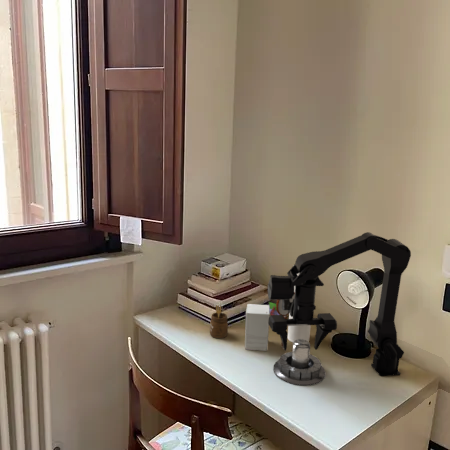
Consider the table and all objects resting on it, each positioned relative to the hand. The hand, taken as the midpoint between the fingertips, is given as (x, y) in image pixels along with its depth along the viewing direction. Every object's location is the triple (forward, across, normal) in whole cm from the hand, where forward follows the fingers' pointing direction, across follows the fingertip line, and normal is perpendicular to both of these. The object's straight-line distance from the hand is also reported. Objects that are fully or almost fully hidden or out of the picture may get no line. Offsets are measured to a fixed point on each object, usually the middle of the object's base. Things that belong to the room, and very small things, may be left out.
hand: (300, 349), depth 148 cm
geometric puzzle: (+7, -2, -36) cm, 37 cm away
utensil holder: (+7, +20, -25) cm, 33 cm away
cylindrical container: (+7, -6, -20) cm, 22 cm away
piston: (+6, 0, 0) cm, 7 cm away
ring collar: (+7, 0, 0) cm, 7 cm away
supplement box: (+7, +9, -17) cm, 20 cm away
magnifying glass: (+7, +1, -14) cm, 16 cm away
